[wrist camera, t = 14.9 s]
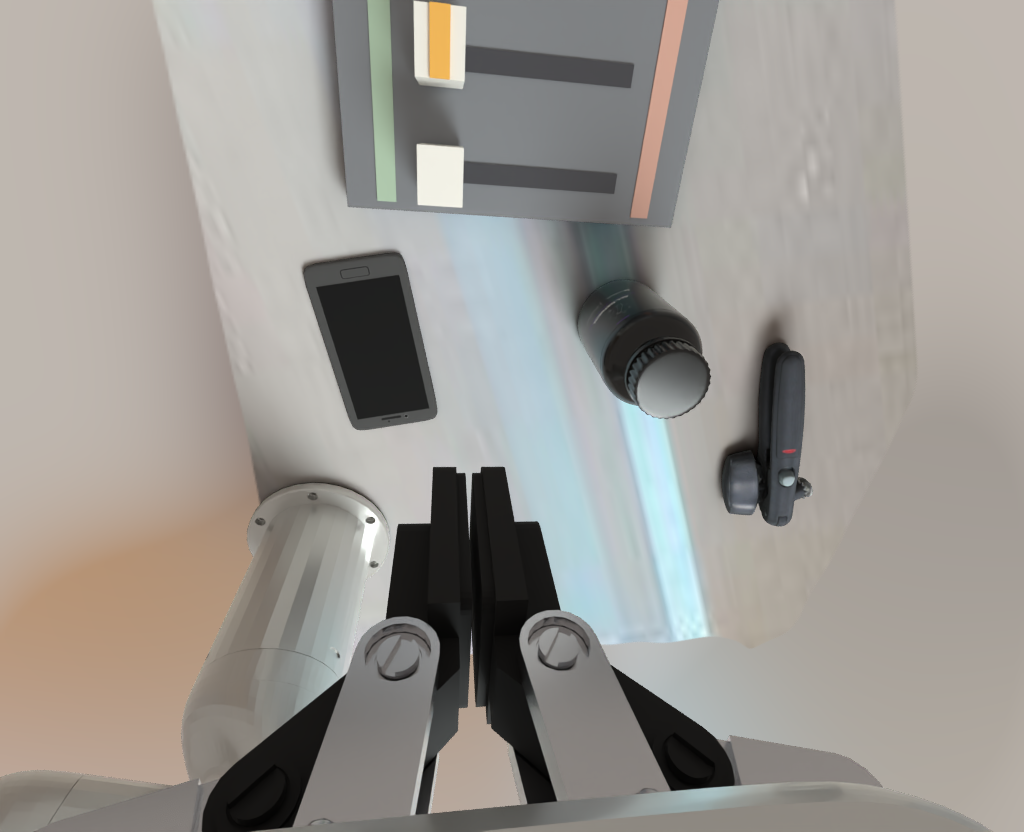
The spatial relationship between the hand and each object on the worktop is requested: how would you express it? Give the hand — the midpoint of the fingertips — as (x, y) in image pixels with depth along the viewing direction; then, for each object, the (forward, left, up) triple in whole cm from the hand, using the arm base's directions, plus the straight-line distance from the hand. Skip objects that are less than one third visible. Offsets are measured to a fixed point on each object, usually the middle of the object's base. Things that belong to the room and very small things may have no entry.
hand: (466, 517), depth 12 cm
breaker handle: (+6, +1, -26) cm, 27 cm away
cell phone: (-7, +6, -29) cm, 31 cm away
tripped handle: (+12, +1, -26) cm, 29 cm away
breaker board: (+12, -4, -29) cm, 31 cm away
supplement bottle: (-4, -13, -29) cm, 32 cm away
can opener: (-14, -29, -29) cm, 43 cm away
